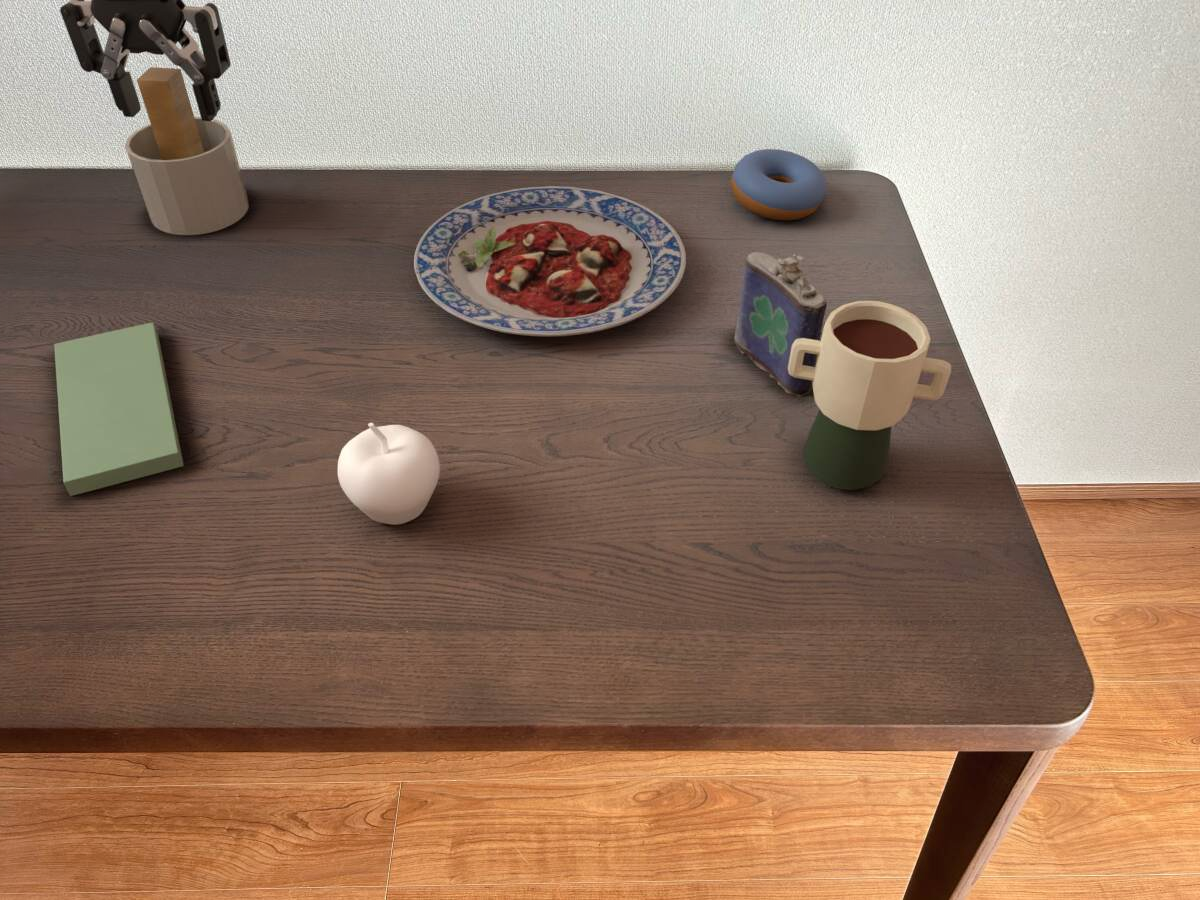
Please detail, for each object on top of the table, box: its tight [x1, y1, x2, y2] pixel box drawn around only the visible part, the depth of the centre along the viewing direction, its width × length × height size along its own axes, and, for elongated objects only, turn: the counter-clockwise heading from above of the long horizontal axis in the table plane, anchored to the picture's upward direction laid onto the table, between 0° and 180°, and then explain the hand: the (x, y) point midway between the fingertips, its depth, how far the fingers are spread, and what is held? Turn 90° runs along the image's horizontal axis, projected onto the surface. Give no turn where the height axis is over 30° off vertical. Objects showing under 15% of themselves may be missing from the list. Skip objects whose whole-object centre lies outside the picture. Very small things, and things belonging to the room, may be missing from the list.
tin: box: [124, 116, 250, 236], centre depth 98 cm, size 10×10×8 cm
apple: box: [337, 422, 441, 526], centre depth 68 cm, size 7×7×8 cm
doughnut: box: [730, 148, 827, 221], centre depth 102 cm, size 10×10×5 cm
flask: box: [734, 251, 828, 398], centre depth 80 cm, size 9×3×11 cm, turn 31°
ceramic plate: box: [413, 185, 687, 337], centre depth 93 cm, size 26×26×3 cm
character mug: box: [788, 300, 952, 491], centre depth 70 cm, size 11×7×13 cm, turn 76°
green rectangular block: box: [53, 321, 184, 497], centre depth 78 cm, size 18×8×2 cm, turn 24°
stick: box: [136, 66, 204, 160], centre depth 96 cm, size 3×3×14 cm
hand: (171, 115), depth 94 cm, fingers open, 7 cm apart
